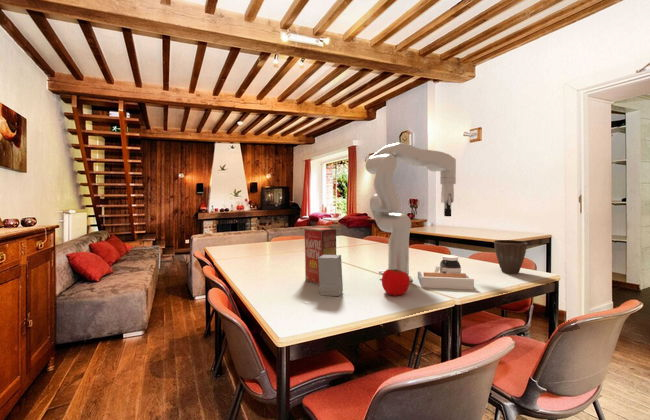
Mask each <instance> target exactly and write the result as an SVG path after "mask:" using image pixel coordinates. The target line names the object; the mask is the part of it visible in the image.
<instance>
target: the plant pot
mask: <svg viewBox="0 0 650 420" xmlns="http://www.w3.org/2000/svg"><path fill="white" fill-rule="evenodd" d="M493 244H494V245H493V246H494V253H495V255H496V259H497V263H498V265H499V268H500V270H501V272H502V274H503V273H505V274H510V275H518V274H519V272H520V270H521V268H522V266H523V263H524V260H525V256H526V253H527V247H528V242H527V241H524V240H523V241H522V240H513V239H512V240H511V239H499V240H498V239H496V240H493Z"/></svg>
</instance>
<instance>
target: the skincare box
mask: <svg viewBox="0 0 650 420" xmlns="http://www.w3.org/2000/svg"><path fill="white" fill-rule="evenodd" d="M318 266H319V284H318V285H319V295H320V296H328V297H329V296H332V297H340V295H341V294H342V293H343V292H344V289H343V285H344V284H343V283H344V282H343V269H342V268H343V266H342V255H341V254H336V255H322V256H320V257H319V258H318Z"/></svg>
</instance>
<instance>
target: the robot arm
mask: <svg viewBox="0 0 650 420" xmlns="http://www.w3.org/2000/svg"><path fill="white" fill-rule="evenodd" d="M397 162H402V163H406V164H408V165H411V166H414V167H415V166H416V167H426V169H427V170H428V171H430V172H440V174H439V175H440V179H439V180H440V182H439V183H440V185H441V192H440V195H441V196H440V203H442V204H444V205H443V206H444V208H443V211H444V213H443V215H444V217H452V203H454V202H455V201H454V199H455V198H454V197H455V194H454V193H455V191H454V190H455V188H454V185H456V183H457V182H456V180H457V176H456V175H457V170H456V169H457V161H456V158H455V157H453V156H452V155H450V154H449V153H446V152H443V151H438V150H432V149H424V148H419V147H417V146H414V145H410V144H407V143H405V142H396V143H391V144H388V145H385V146H383V147H382V148H381V149H379V150H378V151H377V152H375V153H374V154H372V155H371V156H369V157H368V158H367V159H366V161H365V170H366V171H367V173H369V174H371V175H375V176H374V179H373V180H374V181H373V187H374V192H375V194H373V195H372V196H371V197H370V199H369V208H370V211H371V214H372V216H373V218H374V220H375V223H376V226H377V227H378V228H379V229H380V230H381V231H382V232H385V233H391V234H390V236H389V238H388V243H387V244H388V245H387V246H388V248H387V249H388V250H387V251H388V255H387V256H388V257H387V258H388V266H387V267H388V268H387V270H389V269H390V270H391V269H393V270H394V269H396V270H400V271H403V272H405V273H407V275H408V276H409V279H410V282H412V281H413V277H412V276H411V275H409V273H410V271H409V270H410V265H409V264H410V263H409V262H410V260H409V259H410V258H409V257H410V247H409V246H410V233H411V229H412V220H411V218H410V217H409V216H408V215H407V214H405V213H400V212H399V210H400V208H401V202H400V199H399V196H398V194H397V190H396V189H395V186H394V183H393V176H394V172H395V170H396V168H397V165H398V163H397ZM385 271H386V270H383V269H381V270H378V275H381V276H383V273H384V272H385Z"/></svg>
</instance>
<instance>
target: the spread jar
mask: <svg viewBox="0 0 650 420" xmlns="http://www.w3.org/2000/svg"><path fill="white" fill-rule="evenodd" d="M441 259H442V260H441V261H440V263H439V265H436V267H435V269H434V271H433V272H434V273H443V271H446V273H462V267H461V263H460V262H459V256H457V255H453V254H452V255H450V254H445V255H442V257H441Z"/></svg>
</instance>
